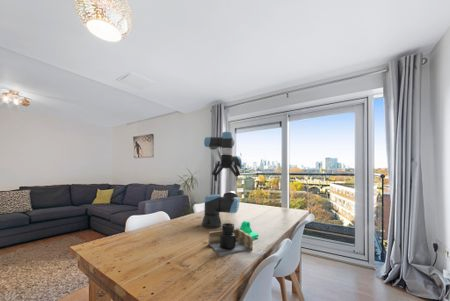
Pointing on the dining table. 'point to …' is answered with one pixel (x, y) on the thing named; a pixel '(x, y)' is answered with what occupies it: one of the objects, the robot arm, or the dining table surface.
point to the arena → (242, 242)
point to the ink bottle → (227, 236)
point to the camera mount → (248, 229)
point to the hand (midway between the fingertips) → (225, 185)
